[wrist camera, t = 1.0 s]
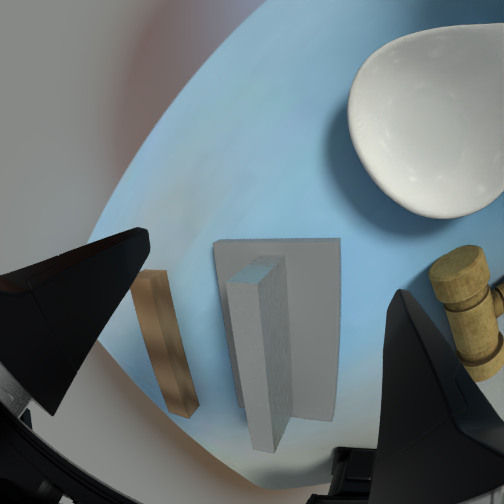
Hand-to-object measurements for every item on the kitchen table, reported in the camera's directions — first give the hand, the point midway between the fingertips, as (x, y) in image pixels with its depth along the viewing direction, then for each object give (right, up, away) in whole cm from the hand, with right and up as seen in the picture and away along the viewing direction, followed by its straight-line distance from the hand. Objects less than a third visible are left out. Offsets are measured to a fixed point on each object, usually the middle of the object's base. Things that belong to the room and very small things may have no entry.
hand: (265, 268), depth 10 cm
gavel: (+23, 0, +5) cm, 24 cm away
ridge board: (+2, -7, +15) cm, 17 cm away
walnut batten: (-9, -10, +22) cm, 25 cm away
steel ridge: (+2, -7, +14) cm, 16 cm away
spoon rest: (+16, +12, +4) cm, 21 cm away
